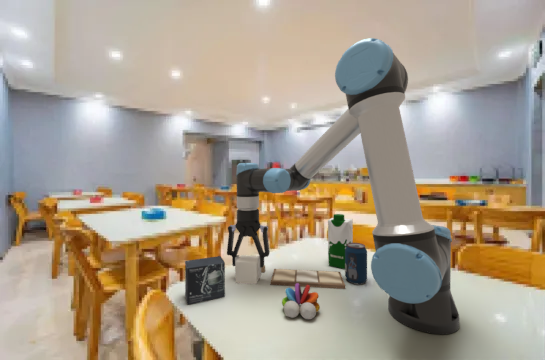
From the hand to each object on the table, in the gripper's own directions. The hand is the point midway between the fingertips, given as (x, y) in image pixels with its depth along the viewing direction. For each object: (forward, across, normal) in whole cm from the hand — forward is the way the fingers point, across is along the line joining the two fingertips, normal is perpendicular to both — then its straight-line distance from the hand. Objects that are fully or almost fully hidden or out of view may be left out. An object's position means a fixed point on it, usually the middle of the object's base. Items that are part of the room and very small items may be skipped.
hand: (248, 275), depth 83 cm
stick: (+1, 0, -7) cm, 7 cm away
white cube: (+1, 0, 0) cm, 1 cm away
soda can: (+1, -36, -3) cm, 36 cm away
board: (+1, -20, -2) cm, 20 cm away
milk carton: (+1, -33, -17) cm, 37 cm away
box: (+1, +10, +13) cm, 16 cm away
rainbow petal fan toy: (+1, -18, +18) cm, 25 cm away
